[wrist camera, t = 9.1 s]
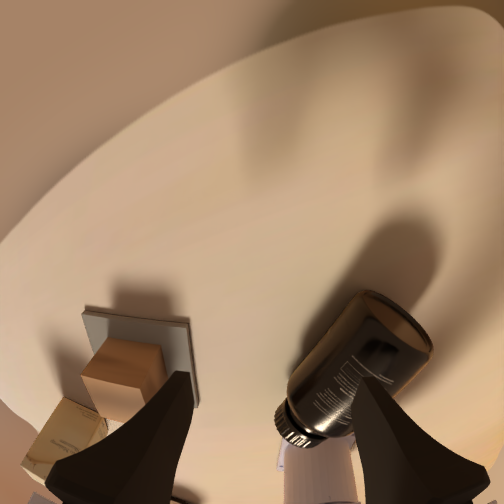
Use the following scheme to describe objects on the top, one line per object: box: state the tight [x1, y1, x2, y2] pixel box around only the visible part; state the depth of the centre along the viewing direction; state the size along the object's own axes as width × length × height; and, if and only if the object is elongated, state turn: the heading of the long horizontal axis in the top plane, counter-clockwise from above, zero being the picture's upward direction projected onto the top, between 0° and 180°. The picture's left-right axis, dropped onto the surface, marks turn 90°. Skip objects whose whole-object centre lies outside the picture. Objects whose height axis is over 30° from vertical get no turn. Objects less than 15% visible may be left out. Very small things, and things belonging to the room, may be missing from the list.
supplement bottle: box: [274, 290, 434, 449], centre depth 19 cm, size 7×7×12 cm
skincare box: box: [21, 397, 108, 486], centre depth 23 cm, size 6×4×12 cm
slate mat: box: [81, 311, 199, 408], centre depth 23 cm, size 10×10×1 cm
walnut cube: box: [81, 337, 168, 423], centre depth 20 cm, size 5×5×5 cm
